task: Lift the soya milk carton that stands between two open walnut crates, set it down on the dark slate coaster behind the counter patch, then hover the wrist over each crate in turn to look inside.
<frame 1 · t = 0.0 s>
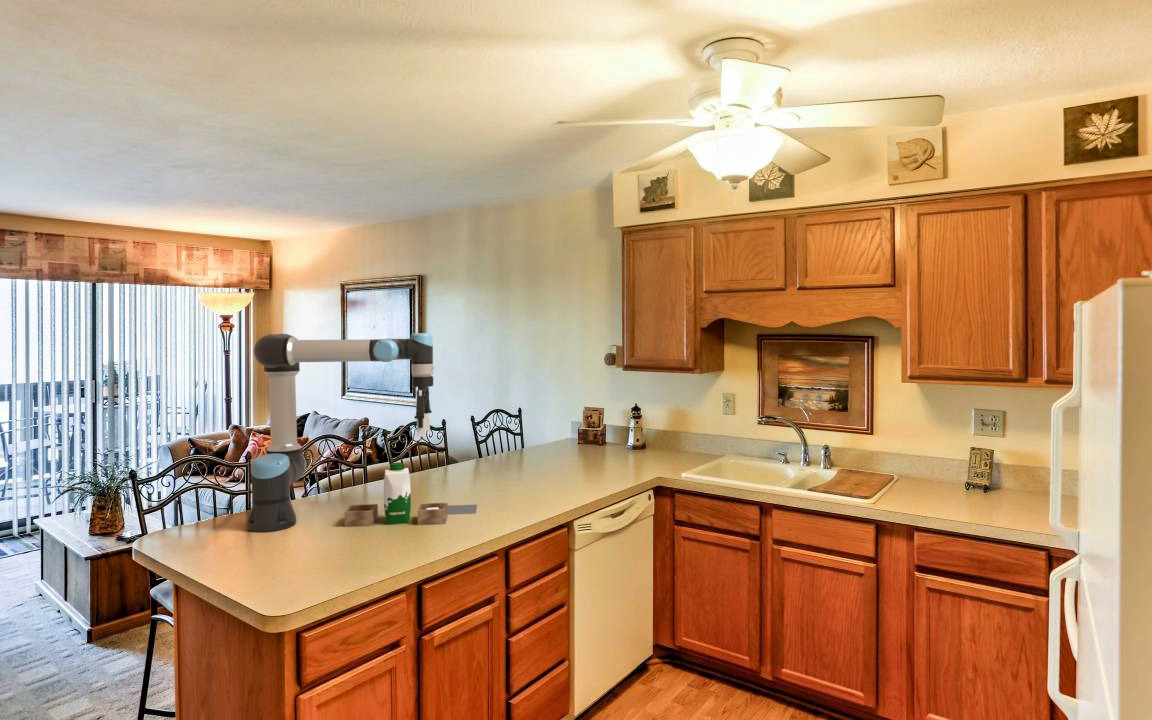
hand: (423, 433, 238), 28 cm above the table, fingers open, 13 cm apart
crate a: (361, 524, 223), on the table
cube: (433, 520, 224), point 1 cm above the table, touching crate b
coaster: (459, 511, 238), on the table
crate b: (433, 522, 224), on the table
soya milk: (397, 523, 224), on the table
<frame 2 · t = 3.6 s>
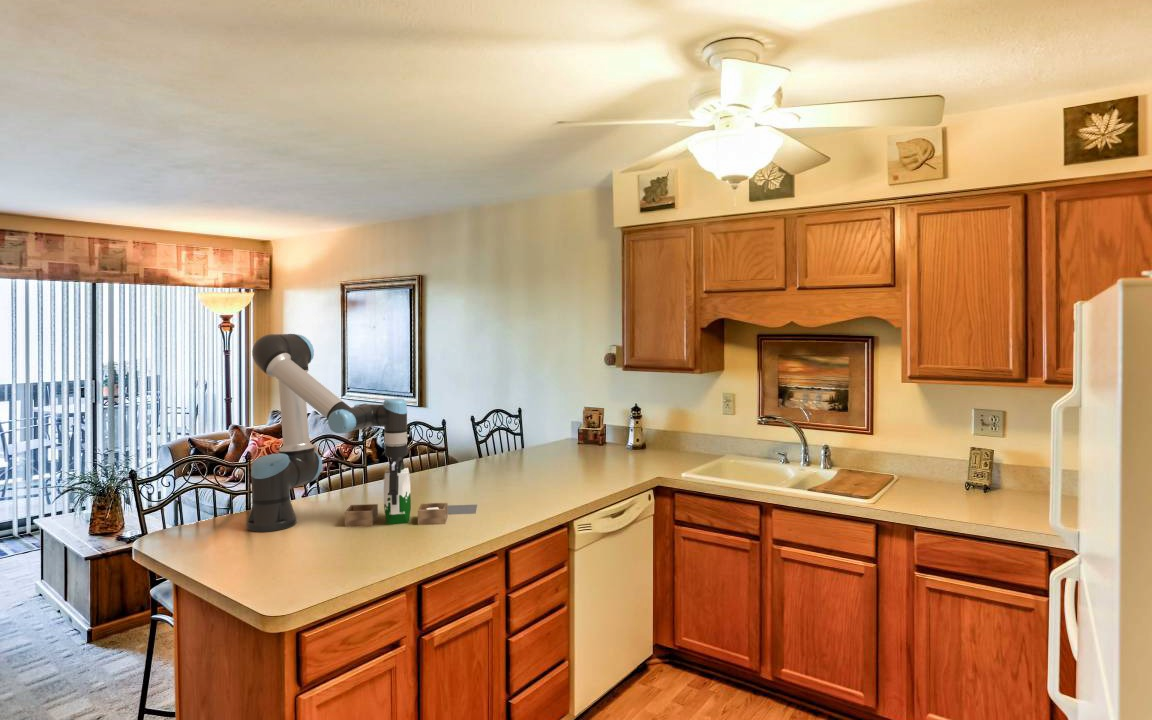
hand: (397, 509, 224), 5 cm above the table, fingers closed on soya milk, 9 cm apart
soya milk: (397, 523, 224), on the table, touching gripper
everything else where it was.
when the fingers open (6 cm above the table, at t = 10.2 s): soya milk stays where it is, resting on coaster.
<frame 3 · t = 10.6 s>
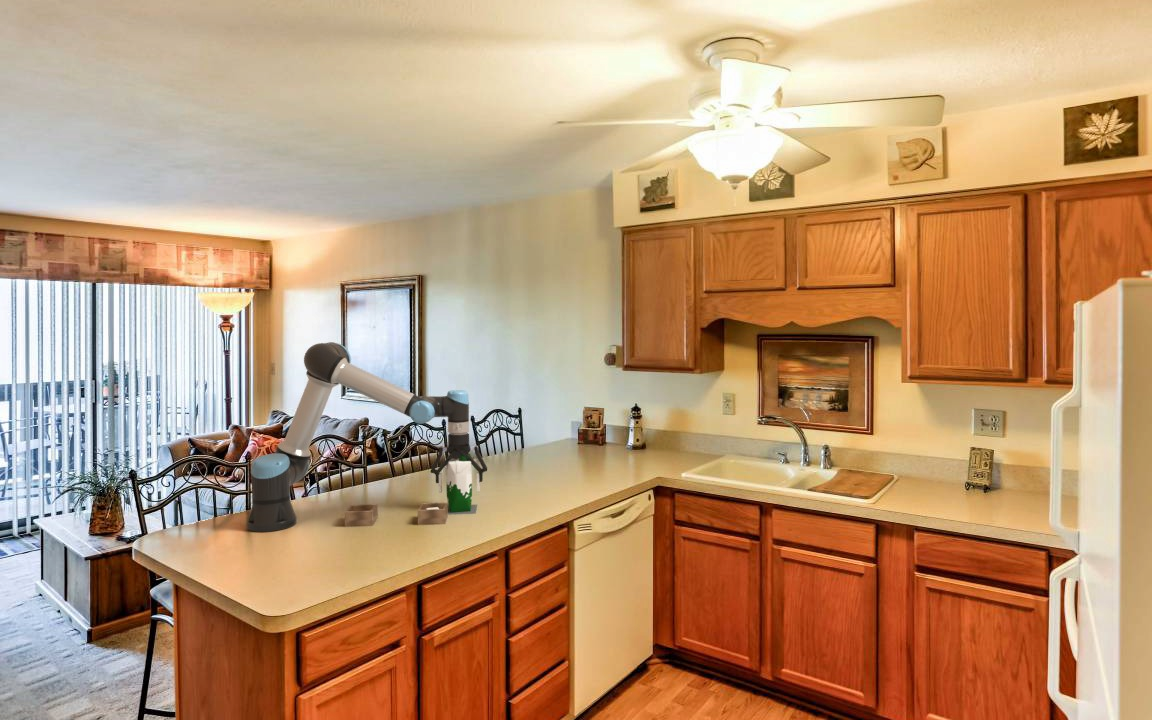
hand: (459, 491, 237), 7 cm above the table, fingers open, 13 cm apart
soya milk: (459, 510, 238), resting on coaster
everything else where it was.
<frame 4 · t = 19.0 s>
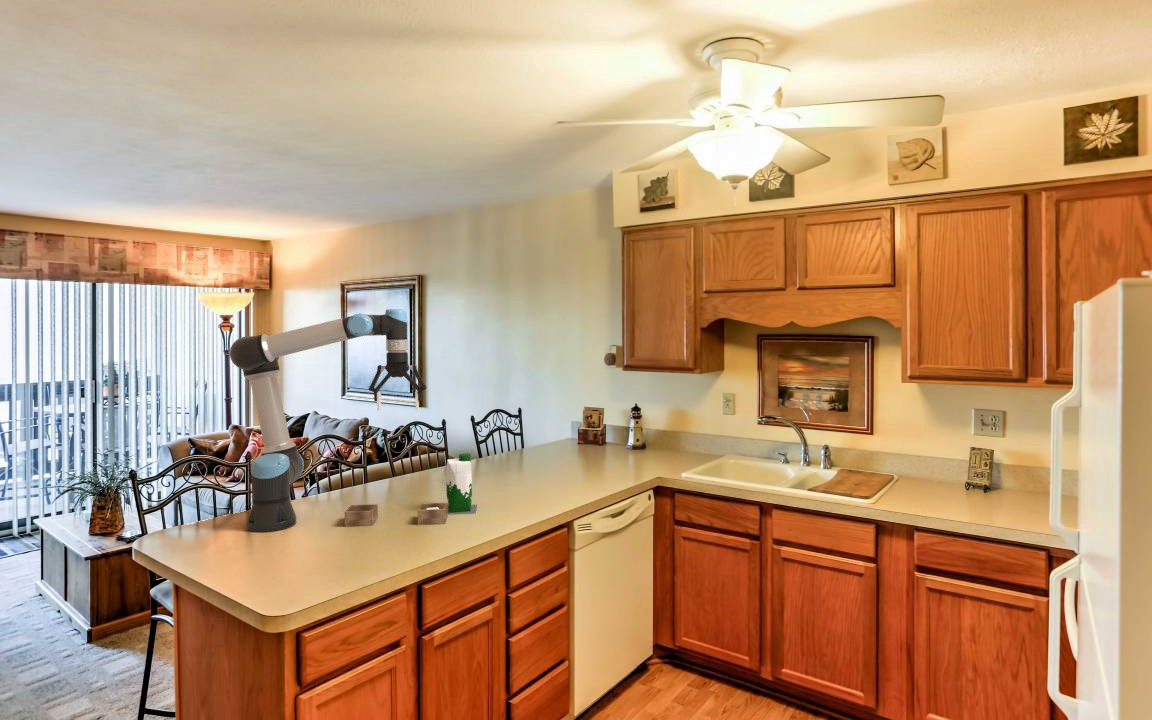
hand: (398, 410, 239), 37 cm above the table, fingers open, 13 cm apart
nothing on the table moved.
at the end: soya milk inside the target area on the coaster (0.1 cm from its centre), point 0.4 cm above the coaster's base; soya milk tilted 0°; the gripper is holding nothing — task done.
